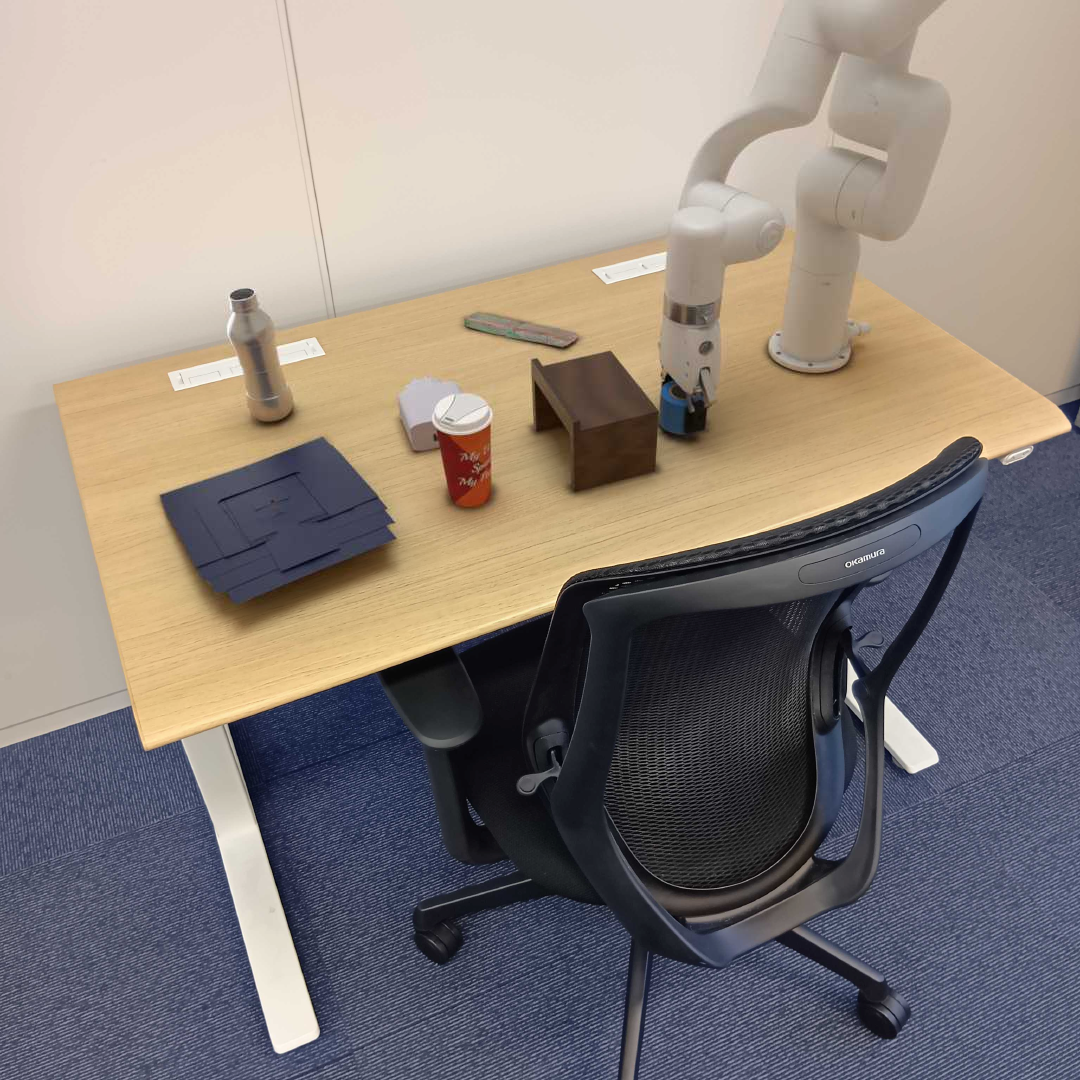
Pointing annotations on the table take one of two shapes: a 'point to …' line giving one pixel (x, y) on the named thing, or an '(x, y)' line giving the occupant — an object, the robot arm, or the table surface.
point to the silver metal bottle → (258, 357)
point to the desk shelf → (597, 417)
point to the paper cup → (465, 447)
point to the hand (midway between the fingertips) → (682, 415)
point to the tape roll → (674, 407)
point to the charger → (423, 409)
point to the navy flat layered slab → (277, 520)
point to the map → (520, 329)
